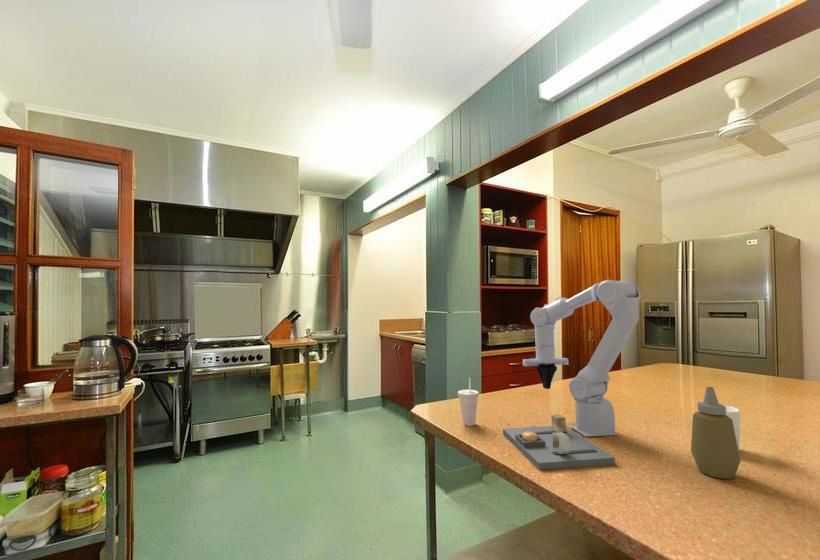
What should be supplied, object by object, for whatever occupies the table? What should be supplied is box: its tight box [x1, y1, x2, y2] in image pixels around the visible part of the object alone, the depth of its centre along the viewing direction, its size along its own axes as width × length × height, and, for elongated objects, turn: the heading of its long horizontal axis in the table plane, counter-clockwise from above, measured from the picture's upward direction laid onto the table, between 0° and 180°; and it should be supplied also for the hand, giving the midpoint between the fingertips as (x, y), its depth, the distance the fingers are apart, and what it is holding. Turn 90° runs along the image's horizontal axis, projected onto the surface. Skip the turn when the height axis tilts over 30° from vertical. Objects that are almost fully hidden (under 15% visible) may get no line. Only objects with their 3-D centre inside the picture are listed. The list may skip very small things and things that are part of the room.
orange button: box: [522, 432, 537, 442], centre depth 91 cm, size 4×4×2 cm
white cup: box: [723, 404, 741, 452], centre depth 89 cm, size 8×8×10 cm
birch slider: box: [551, 413, 567, 432], centre depth 98 cm, size 2×3×4 cm
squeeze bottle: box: [690, 386, 741, 480], centre depth 77 cm, size 8×8×18 cm
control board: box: [502, 425, 616, 471], centre depth 91 cm, size 18×22×3 cm
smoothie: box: [457, 377, 479, 427], centre depth 111 cm, size 6×6×14 cm
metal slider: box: [552, 432, 570, 454], centre depth 84 cm, size 2×3×4 cm
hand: (546, 388), depth 115 cm, fingers closed
